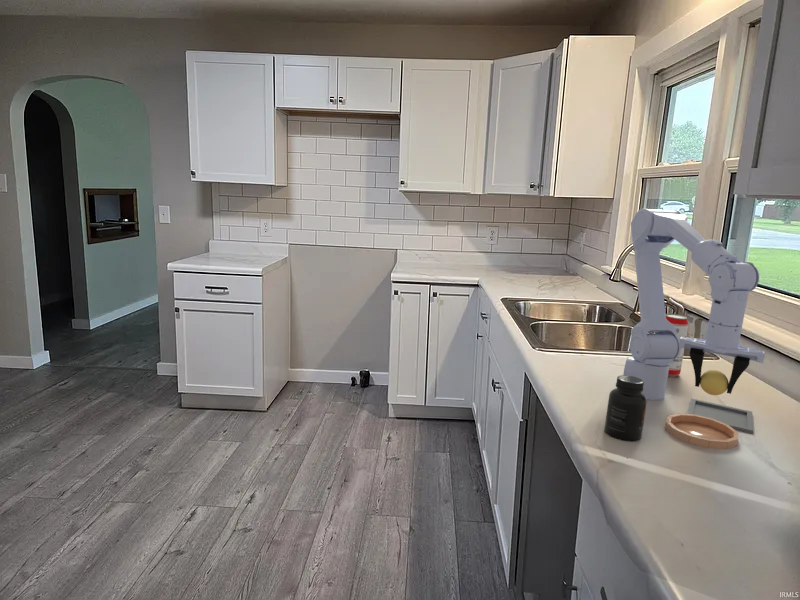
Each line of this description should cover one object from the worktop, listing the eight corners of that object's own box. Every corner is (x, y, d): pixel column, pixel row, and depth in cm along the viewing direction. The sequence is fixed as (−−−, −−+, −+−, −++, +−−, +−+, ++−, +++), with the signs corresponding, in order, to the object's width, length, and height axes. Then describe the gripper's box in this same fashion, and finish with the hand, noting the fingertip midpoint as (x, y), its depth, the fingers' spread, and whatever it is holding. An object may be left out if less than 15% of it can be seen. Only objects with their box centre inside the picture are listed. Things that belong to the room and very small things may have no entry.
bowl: (661, 439, 107) (663, 429, 107) (668, 418, 118) (670, 408, 117) (736, 458, 101) (738, 447, 100) (736, 434, 111) (738, 424, 111)
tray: (685, 421, 117) (687, 415, 116) (690, 404, 127) (691, 398, 126) (752, 437, 111) (753, 430, 110) (751, 417, 121) (752, 411, 120)
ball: (696, 394, 110) (701, 371, 109) (698, 387, 114) (703, 364, 113) (725, 401, 107) (730, 377, 106) (726, 393, 111) (731, 370, 110)
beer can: (684, 375, 147) (694, 317, 144) (671, 379, 144) (681, 319, 140) (662, 368, 152) (671, 312, 149) (649, 371, 149) (658, 314, 145)
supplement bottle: (648, 444, 105) (657, 385, 102) (615, 445, 104) (624, 385, 101) (628, 429, 111) (636, 372, 109) (597, 429, 110) (604, 373, 108)
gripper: (682, 320, 108) (671, 385, 111) (769, 334, 100) (755, 403, 103) (685, 314, 114) (675, 376, 116) (768, 327, 106) (755, 392, 109)
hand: (712, 388), depth 110 cm, fingers closed on ball, 5 cm apart
